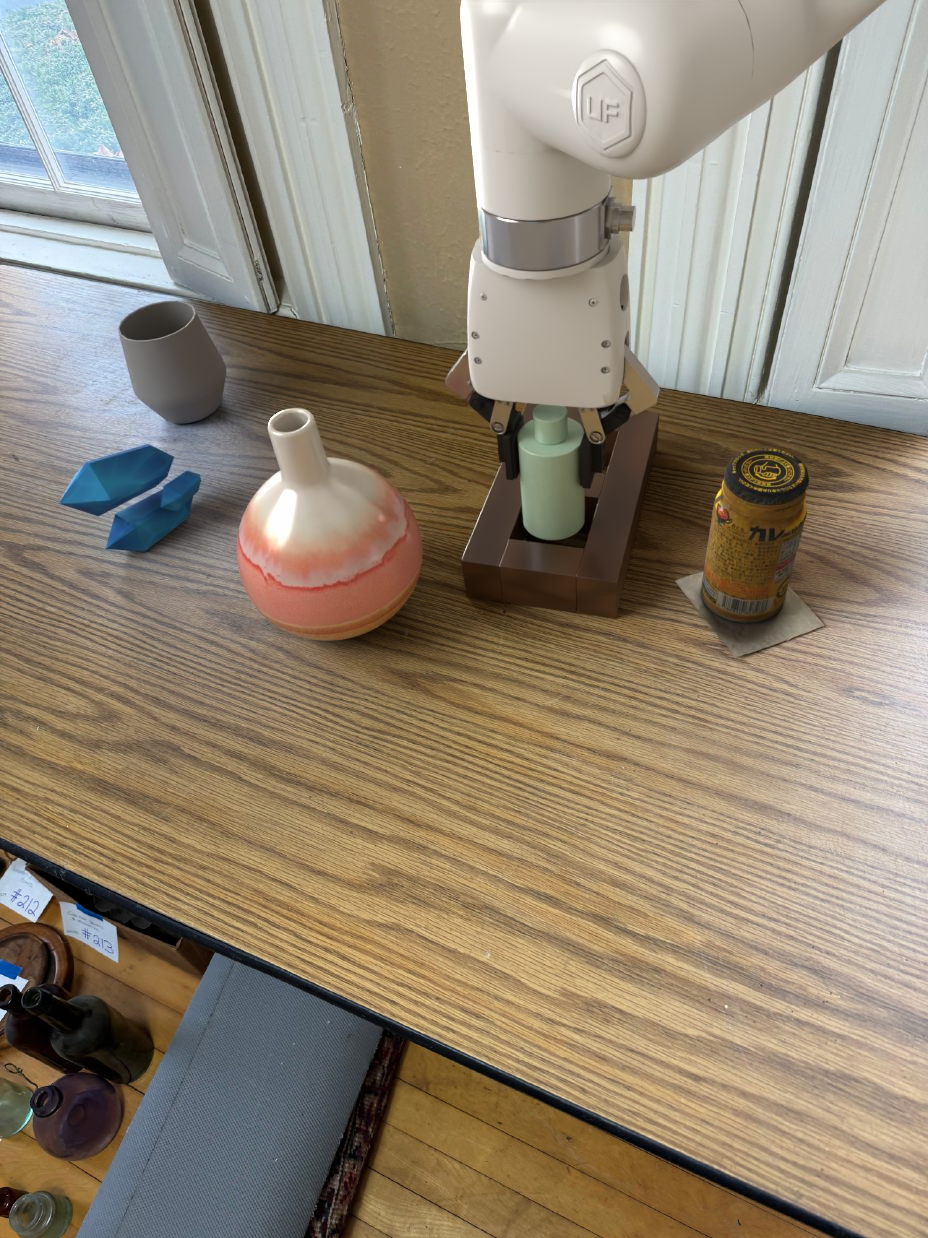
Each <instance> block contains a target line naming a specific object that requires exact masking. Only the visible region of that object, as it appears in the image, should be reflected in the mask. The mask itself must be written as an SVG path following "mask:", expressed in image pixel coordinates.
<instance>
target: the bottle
mask: <svg viewBox="0 0 928 1238" xmlns="http://www.w3.org/2000/svg"><path fill="white" fill-rule="evenodd" d="M584 432H585V431H584V429H583V427H582V426H581V425H580V424H579V423H578V422H577V421H575V420H573V419H571V418H568V411H567V408H566V407H565V406H556V405H544V404H539V405H538V406H536V407H535V409H534V410H533V420H531V421H529V422H527V423H526V424H525V425H523V426H522V427H521V429H520V430H519V432H518V435H517V445H518V459H519V473H520V487H521V501H522V515H523V524H524V526H525V528H526V530H527V531H528V533H529V534H530V535H532V536H534V537H535V538H538V539H541V540H545V541H560V540H565V539H568V538H570V537H572V536H575V535H576V534H577V533H579V532H578V531H579V530H580V529H581V528H582V526H583V524H584V522H585V488H583V486H580V444H581V441H582V438H583V435H584Z"/></svg>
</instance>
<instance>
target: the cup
mask: <svg viewBox="0 0 928 1238" xmlns="http://www.w3.org/2000/svg"><path fill="white" fill-rule="evenodd" d="M117 331H118V336H119V339H120V345H121V348H122V351H123V355H124V359H125V363H126V367H127V371H128V375H129V379H130V383H131V386H132V391H133V393H134V395H135V396H136V398H137V399H138V400H140V402H142V403H143V404H144V405H145V406H147V408H149V409H150V410H152V411H153V412H155V414H157V415H158V416H159V417H161V418H162V419H163V420H165V421H166V422H170V423H174V424H190V423H194V422H198V421H201V420H203V419H205V418H207V417H209V416H210V415H212V414H213V413H214V412H216V410H217V409H218V408H219V407H220V405H221V403H222V400H223V395H224V391H225V386H226V385H225V384H226V378H227V367H226V364H225V360H224V358H223V355H222V354H221V352H220V351H219V348H218V347H217V345H216V343H215V342H214V340H213V338H212V336H211V335H210V332H209V331H208V328H206V325H205V324H204V322H203V320H202V319H201V317H200V315H199V314H198V312H197V309H196V308H195V306H193V305H192V304H190V303H189V302H187V301H181V300H163V301H156V302H153V303H150V304H147V305H143V306H141V307H139V308H137V309H135V310H133V311H131V312H130V313H128V314H126V316H125V317H124V318H122V320H120V323H119V325H118V326H117Z"/></svg>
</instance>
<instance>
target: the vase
mask: <svg viewBox="0 0 928 1238" xmlns="http://www.w3.org/2000/svg"><path fill="white" fill-rule="evenodd" d="M267 430H268V435H269V438H270V442H271V445H272V447H273V452H274V455H275V458H276V461H277V465H278V467H279V470H278V471H277V472H275V474H273V475H271V477H269V478H268V479H267V480H266V481H265V482H264V483H263V484H262V485H260V487H259V489H257V491H256V492H255V494H254V495H253V497H252V498H251V499H250V501H249V502H248V505H247V506H246V509H245V510H244V512H243V514H242V517H241V520H240V524H239V527H238V530H237V537H236V548H235V551H236V561H237V562H236V563H237V567H238V574H239V577H240V581H241V584H242V586H243V588H244V590H245V593H246V595H247V597H248V599H249V600H250V602H251V603H252V604H253V605H254V607H255V608H256V610H257V611H258V612H259V613H260V615H262V616H263V617H264V618H265V619H266V620H267V621H269V622H270V623H271V624H272V625H274V626H276V627H277V628H279V629H281V630H282V631H284V632H286V633H289V634H292V635H293V636H298V637H299V638H303V639H308V640H312V641H313V640H314V641H323V642H324V641H325V642H327V641H329V642H330V641H331V642H332V641H342V640H347V639H352V638H355V637H359V636H362V635H364V634H365V635H366V634H367V633H368V632H369V633H370V632H371V631H373V630H376V629H377V628H379V627H380V626H382V625H384V624H385V623H386V622H388V621H389V620H391V619H392V618H393V617H394V616H395V615H396V614H397V613H398V612H399V611H400V610H401V609H402V608H403V607H404V605H405V604H406V603H407V602H408V600H409V599H410V597H411V596H412V594H413V592H414V590H415V588H416V587H417V584H418V582H419V578H420V575H421V571H422V568H423V557H424V547H423V538H422V532H421V529H420V525H419V522H418V521H417V518H416V516H415V513H414V510H413V509H412V507H411V505H410V504H409V502H408V501H407V499H406V498H405V496H404V495H403V494H402V492H401V491H400V490H399V489H398V488H397V487H396V486H395V485H394V484H393V483H392V482H391V481H389V480H388V479H387V478H386V477H385V476H384V475H382V474H380V473H379V472H378V471H376V470H374V469H372V468H371V467H368V466H366V465H364V464H361V463H359V462H356V461H352V460H349V459H345V458H339V457H330V456H329V457H328V456H327V453H326V451H325V448H324V444H323V441H322V438H321V435H320V431H319V429H318V424H317V422H316V419H315V417H314V415H313V414H312V413H311V411H309V410H307V409H304V408H301V407H293V408H287V409H283V410H281V411H279V412H277V413H276V414H274V415H273V416H272V417H271V418H270V420H269V421H268V424H267Z"/></svg>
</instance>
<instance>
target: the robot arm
mask: <svg viewBox="0 0 928 1238" xmlns="http://www.w3.org/2000/svg"><path fill="white" fill-rule="evenodd" d="M886 1H888V0H461V1H460V8H459V9H460V10H459V11H460V30H461V42H462V52H463V64H464V73H465V84H466V96H467V106H468V107H467V108H468V117H469V118H468V119H469V126H470V127H469V128H470V143H471V151H472V162H473V163H472V164H473V173H474V186H475V192H476V194H475V196H476V207H477V218H478V229H479V230H478V231H479V237H478V238H477V239H476V241H475V243H474V246H473V248H472V250H471V256H470V265H469V274H468V275H469V276H468V288H467V289H468V290H467V314H466V315H467V317H466V319H467V322H466V323H467V326H466V329H467V348H466V349H465V350H464V351H463V353H462V354H461V355H460V356H459V357H458V360H457V361H456V362H455V364H454V365H453V366H452V367H451V369H450V370H449V372H448V373H447V376H446V378H445V379H444V385H445V387H446V388H447V389H448V390H450V391H451V392H452V393H454V394H455V395H457V396H458V397H459V398H461V399H462V400H464V401H467V402H468V403H469V407H471V409H473V411H475V412H476V413H477V414H478V415H479V416H481V418H483V419H484V421H486V422H487V423H489V431H490V432H492V433H493V434H494V435H496V441H497V442H496V443H497V453H498V461H499V463H502V462H503V463H505V468H506V479H507V480H514V479H517V477H518V475H519V459H518V445H517V435H518V432H519V430H520V429H521V427H522V426H523V425H524V417H523V416H521V415H522V411H521V410H517V409H516V407H517V404H518V403H522V404H526V403H533V404H544V405H556V406H568V407H578V409H579V412H580V416H581V419H582V422H583V425H584V428H585V432H584V435H583V438H582V441H581V444H580V486H583V488H587V489H590V488H591V484H592V481H593V478H594V474H595V473H602V474H603V472H604V469H605V467H606V466H605V459H606V436H607V435H609V434H610V433H611V432H613V431H614V430H616V429H617V428H618V427H620V426H621V425H623V424H624V423H625V422H627V421H628V420H629V418H630V417H631V416H633V415H637V414H639V413H641V412H645V411H646V410H648V409H650V408H652V407H653V406H655V405H656V404H657V403H658V400H659V395H660V392H661V388H660V385H659V384H658V382H656V380H655V379H654V377H653V376H652V375H651V374H650V372H649V371H648V370H647V369H646V367H645V366H644V365H643V363H642V362H641V361H640V359H638V357H637V356H636V355H635V353H634V352H633V351H632V350H631V349H632V345H631V344H632V333H631V332H632V331H631V329H632V327H631V324H632V323H631V322H632V321H631V295H630V280H629V279H630V278H629V271H628V262H627V255H626V250H625V246H624V242H623V238H622V237H621V236H620V234H621V232H630V233H631V232H634V230H635V226H636V217H637V206H636V205H624V203H623V202H617V196H614V185H613V184H611V183H612V181H611V179H612V178H611V177H616V178H620V179H625V180H635V181H636V180H637V181H640V180H641V181H642V180H649V179H654V178H657V177H660V176H662V175H666V174H667V173H669V172H671V171H673V170H675V169H676V168H678V167H680V166H682V165H683V164H684V163H685V162H687V161H688V160H689V159H691V158H692V157H694V156H695V155H696V154H698V153H699V152H701V151H703V150H704V149H705V148H706V147H708V146H709V145H711V144H712V143H713V142H715V141H716V140H717V139H719V137H721V136H722V135H723V134H724V133H725V132H726V131H728V130H729V129H730V128H732V127H733V126H735V125H736V124H737V123H739V122H740V121H741V120H743V119H744V118H746V117H747V116H749V115H751V114H752V113H754V112H755V111H756V110H757V109H759V108H761V107H762V106H764V105H765V104H766V103H768V102H769V101H770V100H772V99H773V98H774V97H776V96H777V95H778V94H779V93H780V92H782V91H783V90H784V89H786V88H787V87H788V86H789V85H790V84H792V83H793V82H794V81H795V80H796V79H797V78H799V77H800V76H801V75H802V74H803V73H804V72H806V71H807V70H808V69H810V67H811V66H813V65H814V64H815V63H816V62H817V61H818V60H819V59H820V58H822V57H823V56H824V55H825V54H826V53H828V52H829V51H830V50H831V49H832V48H834V46H836V44H838V43H839V42H840V41H842V40H843V39H844V38H845V37H846V36H848V34H850V33H851V32H852V31H853V30H854V29H855V28H856V27H857V26H859V25H860V24H862V22H863V21H864V20H865V19H867V18H868V17H869V16H870V15H871V14H873V13H874V12H875V11H876V10H877V9H878V8H879V7H881V6H882V5H883V4H885V3H886ZM623 384H624V386H625V387H626V388H627V390H628V391H627V393H621V388H622V385H623Z"/></svg>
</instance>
